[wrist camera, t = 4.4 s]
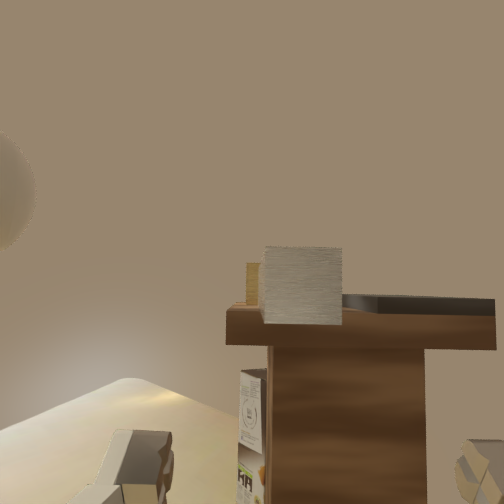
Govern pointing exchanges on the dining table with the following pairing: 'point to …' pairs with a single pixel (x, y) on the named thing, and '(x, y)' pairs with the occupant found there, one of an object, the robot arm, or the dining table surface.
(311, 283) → the grey and tan bar
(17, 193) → the robot arm
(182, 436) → the dining table surface
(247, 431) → the coffee box
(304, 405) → the scale stand
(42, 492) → the dining table surface
